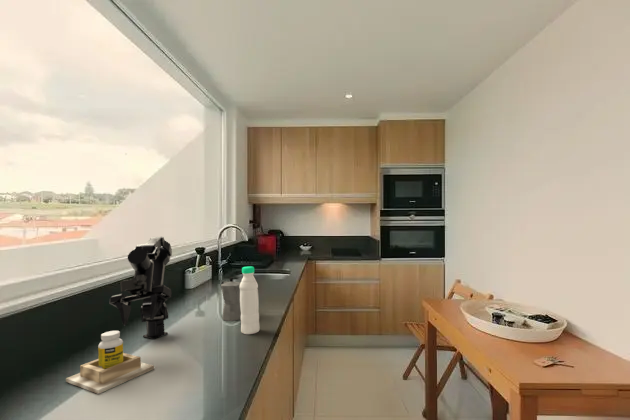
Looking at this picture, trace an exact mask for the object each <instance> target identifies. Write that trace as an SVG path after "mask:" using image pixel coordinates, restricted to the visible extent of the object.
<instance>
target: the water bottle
mask: <svg viewBox="0 0 630 420" xmlns="http://www.w3.org/2000/svg"><path fill="white" fill-rule="evenodd" d="M241 273H242V275H243V276H242V278H241V281H240V282H241V283H240V286H239V288H240V309H241V319H240V332H241V333H242V334H244V335H253V334H257V333H258V332H259V331H260V329H261V328H260V313H259V312H260V311H259V306H260V305H259V303H260V302H259V290H258V289H259V284H258V282H257V280H256V278H255V276H254V274H255V267H254V266H251V265H250V266H243V267H241Z"/></svg>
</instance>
